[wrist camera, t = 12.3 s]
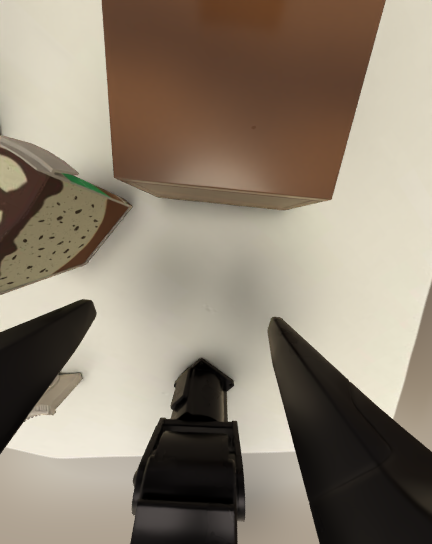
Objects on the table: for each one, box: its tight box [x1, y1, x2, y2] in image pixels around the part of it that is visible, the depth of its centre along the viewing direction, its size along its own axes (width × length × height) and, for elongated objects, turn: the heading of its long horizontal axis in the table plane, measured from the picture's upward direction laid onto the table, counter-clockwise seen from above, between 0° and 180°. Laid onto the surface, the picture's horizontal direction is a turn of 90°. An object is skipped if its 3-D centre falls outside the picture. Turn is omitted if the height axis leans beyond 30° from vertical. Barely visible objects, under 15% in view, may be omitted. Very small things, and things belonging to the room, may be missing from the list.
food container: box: [0, 136, 133, 295], centre depth 13 cm, size 12×6×10 cm, turn 134°
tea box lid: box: [102, 0, 386, 201], centre depth 7 cm, size 12×14×4 cm
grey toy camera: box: [24, 373, 83, 422], centre depth 22 cm, size 12×2×6 cm, turn 98°
